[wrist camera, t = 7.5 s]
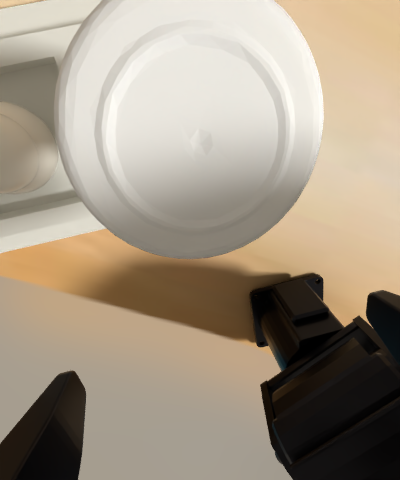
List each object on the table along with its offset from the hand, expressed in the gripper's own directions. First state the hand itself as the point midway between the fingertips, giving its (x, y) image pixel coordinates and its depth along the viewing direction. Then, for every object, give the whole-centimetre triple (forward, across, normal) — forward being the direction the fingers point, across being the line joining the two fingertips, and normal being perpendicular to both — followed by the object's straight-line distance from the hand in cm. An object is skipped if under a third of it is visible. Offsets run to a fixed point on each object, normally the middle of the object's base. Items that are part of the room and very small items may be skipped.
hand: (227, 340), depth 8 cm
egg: (+12, +8, -6) cm, 16 cm away
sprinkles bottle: (+12, 0, -6) cm, 14 cm away
